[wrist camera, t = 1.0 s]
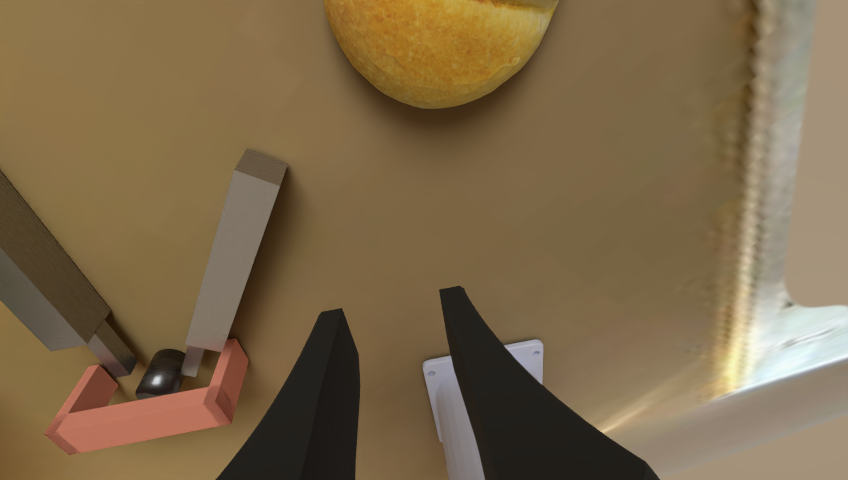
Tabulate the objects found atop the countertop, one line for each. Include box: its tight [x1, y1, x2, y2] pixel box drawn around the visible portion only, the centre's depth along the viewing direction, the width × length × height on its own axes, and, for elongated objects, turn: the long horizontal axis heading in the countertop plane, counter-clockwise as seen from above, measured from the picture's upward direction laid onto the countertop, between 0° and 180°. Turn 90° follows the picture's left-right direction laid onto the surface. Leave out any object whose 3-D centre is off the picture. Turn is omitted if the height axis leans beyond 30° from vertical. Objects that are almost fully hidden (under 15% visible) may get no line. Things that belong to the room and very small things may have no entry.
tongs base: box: [0, 171, 186, 400], centre depth 20 cm, size 16×4×2 cm, turn 9°
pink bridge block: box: [44, 338, 249, 455], centre depth 23 cm, size 2×9×4 cm, turn 98°
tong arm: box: [180, 149, 288, 377], centre depth 21 cm, size 14×2×2 cm, turn 154°
